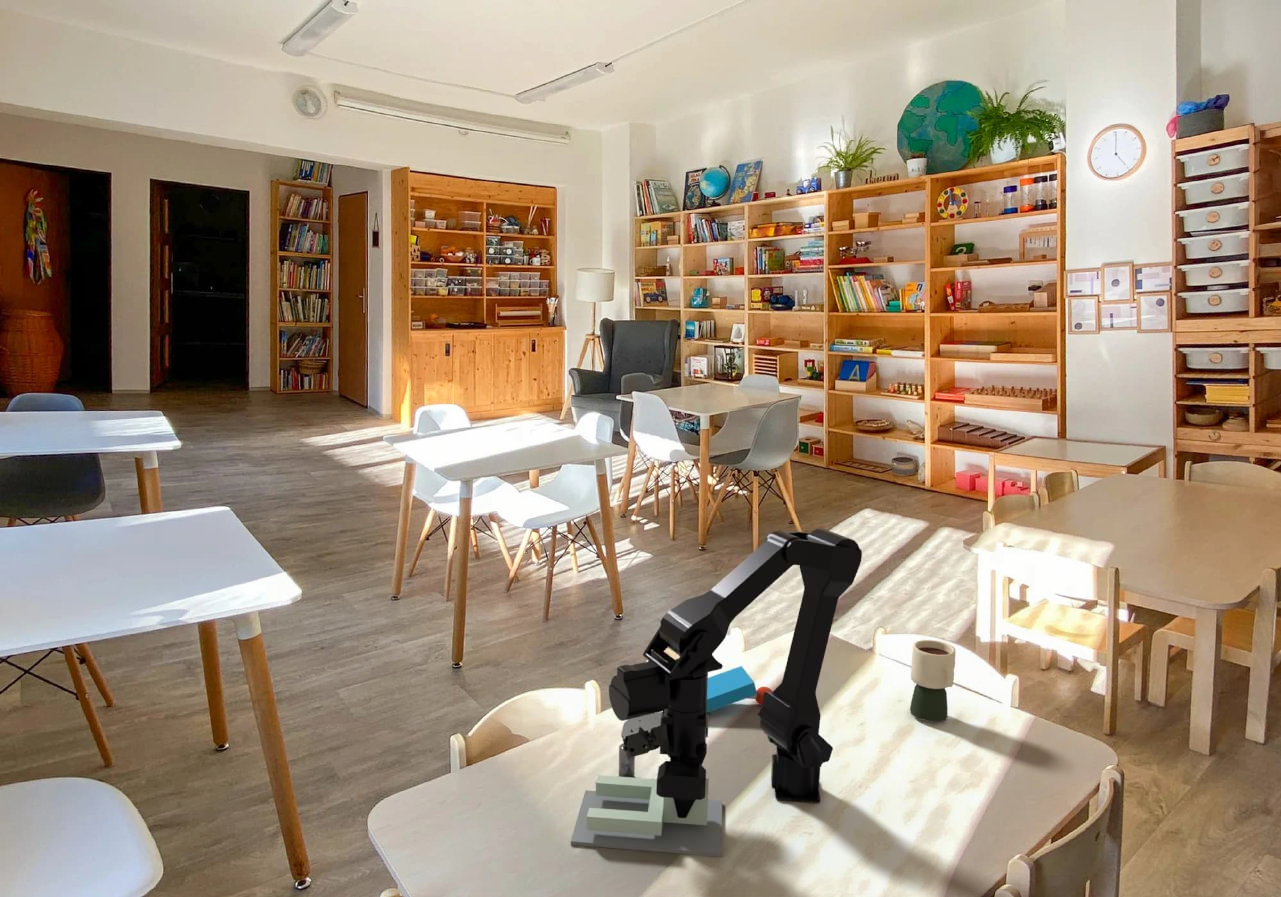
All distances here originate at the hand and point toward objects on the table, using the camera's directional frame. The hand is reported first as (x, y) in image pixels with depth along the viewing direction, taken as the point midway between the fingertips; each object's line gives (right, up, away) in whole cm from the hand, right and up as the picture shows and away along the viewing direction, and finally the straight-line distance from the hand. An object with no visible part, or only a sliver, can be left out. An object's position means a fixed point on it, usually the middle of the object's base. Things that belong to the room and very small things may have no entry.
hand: (682, 808), depth 118 cm
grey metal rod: (-8, 0, +12) cm, 14 cm away
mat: (-5, -3, +1) cm, 5 cm away
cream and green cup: (+45, +2, +33) cm, 56 cm away
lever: (+9, +3, +35) cm, 36 cm away
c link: (-5, -1, +1) cm, 5 cm away
